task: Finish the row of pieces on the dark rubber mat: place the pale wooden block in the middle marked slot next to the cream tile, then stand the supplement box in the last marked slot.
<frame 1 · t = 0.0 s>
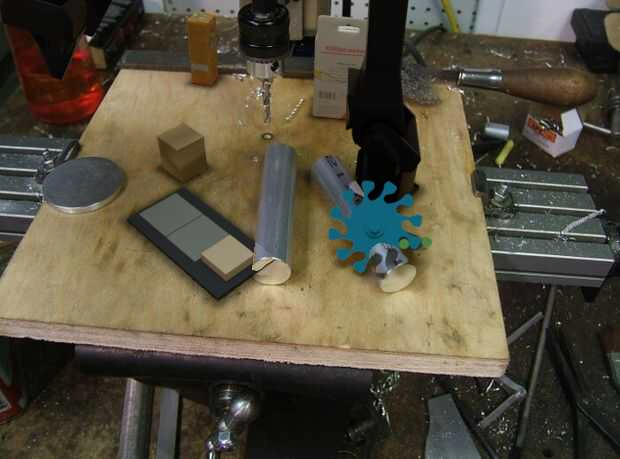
hand: (73, 55, 59), 15 cm above the table, tool pointing down, fingers open, 9 cm apart
supplement box: (206, 81, 86), on the table
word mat: (201, 246, 61), on the table
ink cartridge box: (342, 111, 81), on the table
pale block: (185, 168, 71), on the table
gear: (375, 254, 62), on the table
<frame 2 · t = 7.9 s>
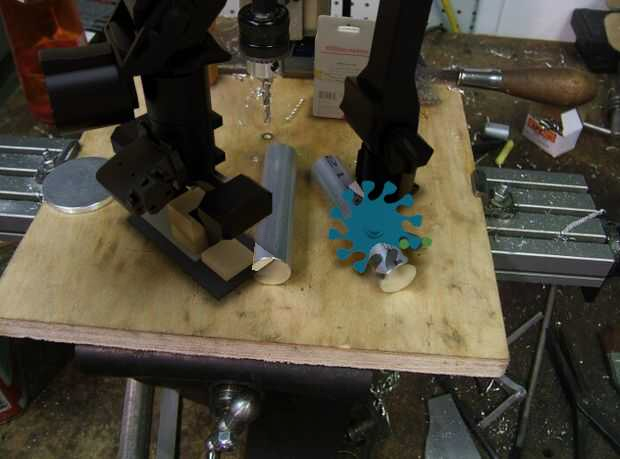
hand: (196, 230, 61), 1 cm above the table, tool pointing down, fingers open, 5 cm apart
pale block: (199, 236, 62), resting on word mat
everything else where it was.
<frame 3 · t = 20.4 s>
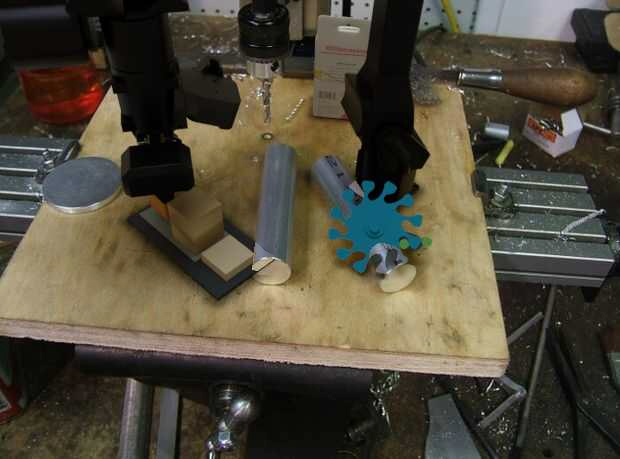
hand: (167, 188, 61), 4 cm above the table, tool pointing down, fingers closed on supplement box, 4 cm apart
supplement box: (171, 208, 64), point 1 cm above the table, touching gripper
everything else where it was.
when the fingers open (4 cm above the table, at t = 21.4 s): supplement box stays where it is, resting on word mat.
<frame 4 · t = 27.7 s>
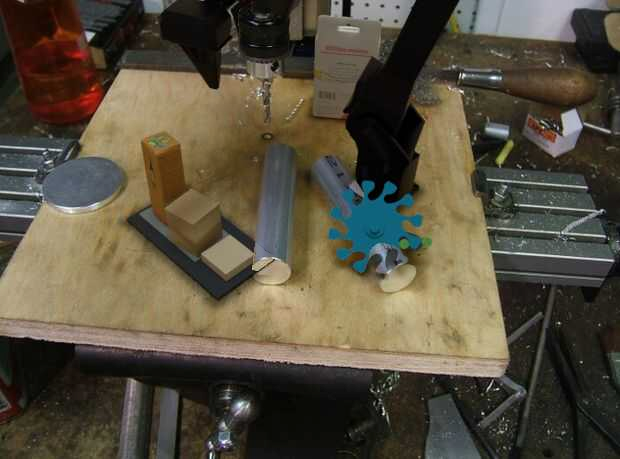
hand: (232, 69, 65), 12 cm above the table, tool pointing down, fingers open, 9 cm apart
supplement box: (172, 214, 64), resting on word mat
everything else where it was.
at the end: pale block 0.4 cm from the target spot on the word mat, point 0.5 cm above the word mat's base; supplement box 0.3 cm from the target spot on the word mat, point 0.3 cm above the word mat's base; supplement box tilted 0° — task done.
